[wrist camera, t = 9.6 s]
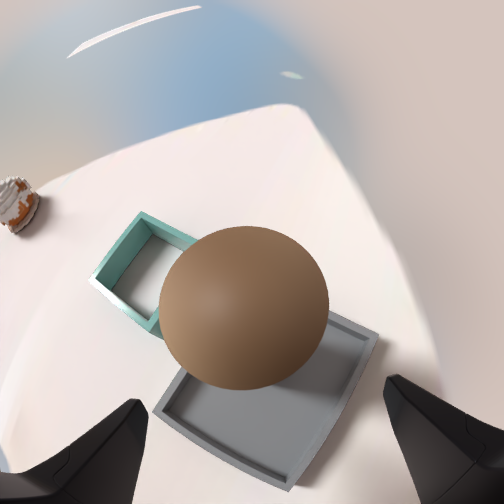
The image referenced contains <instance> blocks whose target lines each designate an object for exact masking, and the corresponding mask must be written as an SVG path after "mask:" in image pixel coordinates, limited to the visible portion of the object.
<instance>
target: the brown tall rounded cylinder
mask: <svg viewBox="0 0 504 504" xmlns="http://www.w3.org/2000/svg"><path fill="white" fill-rule="evenodd" d="M328 315H329V297H328V290H327V286H326V282H325V279H324V277H323V274H322V272H321V270H320V268H319V266H318V265H317V263H316V261H315V260H314V259H313V257H312V256H311V255H310V254H309V253H308V252H307V251H306V250H305V249H304V248H303V247H302V246H301V245H300V244H298V243H297V242H296V241H294V240H293V239H291V238H289V237H288V236H286V235H284V234H282V233H279V232H277V231H274V230H270V229H267V228H261V227H253V226H241V227H232V228H227V229H223V230H220V231H216V232H214V233H212V234H209V235H207V236H205V237H203V238H202V239H200V240H198V241H197V242H195V243H194V244H193V245H191V246H190V247H189V248H188V249H187V250H186V251H184V252H183V253H182V254H181V256H180V257H179V258H178V259H177V260H176V261H175V263H174V264H173V266H172V267H171V269H170V271H169V273H168V274H167V276H166V278H165V281H164V284H163V286H162V290H161V294H160V299H159V322H160V328H161V332H162V335H163V338H164V341H165V343H166V345H167V347H168V349H169V351H170V352H171V354H172V355H173V357H174V358H175V359H176V361H177V362H178V363H179V364H180V365H181V366H182V367H183V368H184V369H185V370H186V371H187V372H189V373H190V374H191V375H193V376H194V377H196V378H197V379H199V380H201V381H203V382H205V383H207V384H209V385H212V386H215V387H219V388H222V389H229V390H254V389H260V388H264V387H267V386H271V385H273V384H275V383H278V382H280V381H282V380H284V379H286V378H287V377H289V376H291V375H292V374H294V373H295V372H296V371H297V370H298V369H300V368H301V367H302V366H303V365H304V364H305V363H306V362H307V361H308V360H309V359H310V357H311V356H312V355H313V353H314V352H315V350H316V349H317V347H318V345H319V343H320V341H321V339H322V337H323V335H324V332H325V329H326V326H327V321H328Z"/></svg>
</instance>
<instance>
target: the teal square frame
mask: <svg viewBox="0 0 504 504" xmlns="http://www.w3.org/2000/svg"><path fill="white" fill-rule="evenodd" d="M152 234H154V235H155V236H157V237H159V238H161V239H162V240H164V241H166V242H168V243H170V244H171V245H173V246H175V247H177V248H179V249H180V250H182V251H186V250H187V249H188V248H189V247H190V246H191V245H193V244H194V243H195V242H197V241H198V240H196V239H194V238H192V237H191V236H189V235H187V234H185V233H183V232H181V231H179V230H177V229H175V228H173V227H171V226H169V225H167V224H165V223H163V222H161V221H159V220H157V219H156V218H154V217H152V216H150V215H148V214H146V213H144V212H142V211H141V212H140V213H139V214H138V215H137V216H136V218H135V219H134V220H133V221H132V223H131V224H130V225H129V226H128V228H127V229H126V230H125V231H124V233H123V234H122V235H121V236H120V238H119V239H118V240H117V241H116V243H115V244H114V245H113V247H112V248H111V249H110V251H109V252H108V253H107V255H106V256H105V257H104V259H103V260H102V262H101V263H100V264H99V266H98V267H97V268H96V270H95V271H94V273H93V274H92V276H91V277H90V278H89V280H88V281H89V282H90V283H91V284H92V285H94V286H95V287H96V288H97V289H98V290H99V291H100V292H101V293H102V294H103V295H105V296H106V297H107V298H108V299H109V300H110V301H111V302H112V303H114V304H115V305H116V306H117V307H118V308H119V309H121V310H122V311H123V312H124V313H125V314H127V315H128V316H129V317H130V318H131V319H133V320H134V321H135V322H136V323H138V324H139V325H140V326H141V327H143V328H144V329H145V330H146V331H148V332H149V333H151V334H153V335H155V336H157V337H159V338H161V339H163V340H164V338H163V335H162V332H161V328H160V322H159V306H158V308H157V309H156V310H155V312H154V313H153V315H152V316H151V318H150V319H149V321H148V320H147V319H146V318H145V317H143V316H142V315H141V314H139V313H138V312H137V311H136V310H134V309H133V308H132V307H131V306H129V305H128V304H127V303H126V302H124V301H123V300H122V299H121V298H120V297H118V296H117V295H116V294H115V293H114V292H112V291H111V290H112V288H113V287H114V285H115V284H116V282H117V281H118V279H119V278H120V277H121V275H122V274H123V272H124V271H125V270H126V268H127V267H128V266H129V264H130V263H131V262H132V260H133V259H134V257H135V256H136V255H137V253H138V252H139V251H140V249H141V248H142V247H143V246H144V244H145V243H146V242H147V240H148V239H149V238H150V237H151V235H152Z"/></svg>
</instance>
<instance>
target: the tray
mask: <svg viewBox="0 0 504 504" xmlns="http://www.w3.org/2000/svg"><path fill="white" fill-rule="evenodd" d="M378 336H379V334H377V333H375V332H373V331H371V330H369V329H367V328H365V327H363V326H361V325H358V324H356V323H354V322H352V321H350V320H348V319H346V318H344V317H342V316H340V315H338V314H336V313H333V312H331V311H329V315H328V321H327V326H326V329H325V332H324V335H323V337H322V339H321V341H320V343H319V345H318V347H317V349H316V350H315V352H314V353H313V355H312V356H311V357H310V359H309V360H308V361H307V362H306V363H305V364H304V365H303V366H302V367H301V368H300V369H298V370H297V371H296V372H295V373H294V374H292V375H291V376H289V377H287V378H286V379H284V380H282V381H280V382H278V383H275V384H273V385H271V386H267V387H264V388H260V389H254V390H229V389H222V388H219V387H215V386H212V385H209V384H207V383H205V382H203V381H201V380H199V379H197V378H196V377H194V376H193V375H191V374H190V373H189V372H187V371H186V370H185V369H184V368H183V367H181V368H180V370H179V371H178V373H177V374H176V376H175V378H174V379H173V381H172V382H171V384H170V385H169V387H168V388H167V390H166V391H165V393H164V394H163V396H162V397H161V399H160V400H159V402H158V404H157V405H156V407H155V408H154V410H153V411H152V413H154V414H155V415H156V416H157V417H159V418H160V419H161V420H163V421H164V422H165V423H167V424H168V425H169V426H171V427H172V428H174V429H175V430H176V431H178V432H179V433H181V434H182V435H183V436H185V437H186V438H188V439H189V440H191V441H192V442H194V443H195V444H197V445H198V446H200V447H202V448H203V449H205V450H206V451H208V452H210V453H211V454H213V455H215V456H216V457H218V458H220V459H221V460H223V461H225V462H227V463H229V464H230V465H232V466H234V467H236V468H238V469H240V470H242V471H243V472H245V473H247V474H249V475H251V476H253V477H255V478H258V479H260V480H262V481H264V482H266V483H268V484H270V485H273V486H275V487H277V488H280V489H282V490H285V491H287V492H289V491H290V490H291V488H292V487H293V486H294V484H295V483H296V482H297V480H298V479H299V478H300V476H301V475H302V474H303V472H304V471H305V470H306V468H307V467H308V465H309V464H310V462H311V461H312V460H313V458H314V457H315V455H316V454H317V452H318V451H319V449H320V448H321V446H322V444H323V443H324V441H325V440H326V438H327V437H328V435H329V433H330V432H331V430H332V428H333V427H334V425H335V423H336V422H337V420H338V418H339V416H340V415H341V413H342V411H343V409H344V407H345V406H346V404H347V402H348V400H349V398H350V396H351V394H352V392H353V390H354V389H355V387H356V385H357V383H358V381H359V378H360V376H361V374H362V372H363V370H364V368H365V366H366V364H367V362H368V359H369V357H370V355H371V353H372V350H373V348H374V346H375V343H376V341H377V338H378Z"/></svg>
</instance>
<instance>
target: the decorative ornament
mask: <svg viewBox="0 0 504 504" xmlns="http://www.w3.org/2000/svg"><path fill="white" fill-rule="evenodd" d="M30 188H31V186H30V185H29V184H28V182H27V181H26V180H25V179H24V178H23V177H22V179H20V178H19V177H18V176H16V178H14V177H13V176H11V178H10V177H9V176H8V177H7V178H6V180H5V181H4V180H1V181H0V222H1V223H2V224H3V225H4V226H5V224H6V225H8V228H9V230H10V231H11V232H12V233H13V232H15V233H16V232H17V231H19V230H20V229H21V230H22V228H23V227H24V225H27V224H28V222H29V221H30V219H31V218H32V217H33V215H34V214H33V213H34V212H35V210H36V209H37V205H38V202H39V200H38V198H39V195H38V194H37V193H36V192H35V191H34V192H33V193H32V192H31V191H30Z"/></svg>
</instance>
